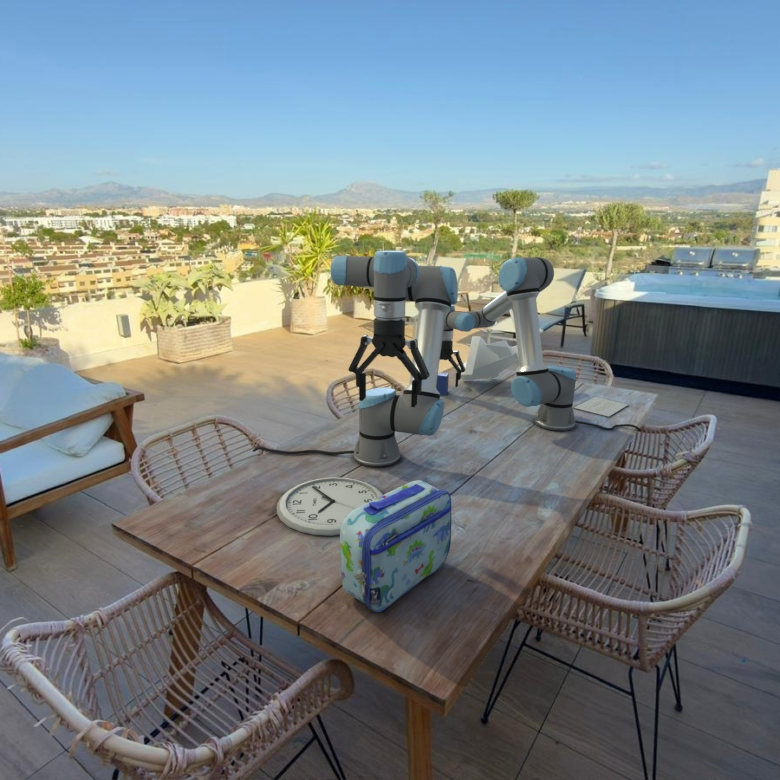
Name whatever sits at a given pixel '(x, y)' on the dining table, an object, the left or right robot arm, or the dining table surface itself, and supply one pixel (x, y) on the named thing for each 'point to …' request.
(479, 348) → the white plastic object
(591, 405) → the invitation card
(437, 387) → the block
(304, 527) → the wall clock
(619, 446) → the dining table surface
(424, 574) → the lunch box
